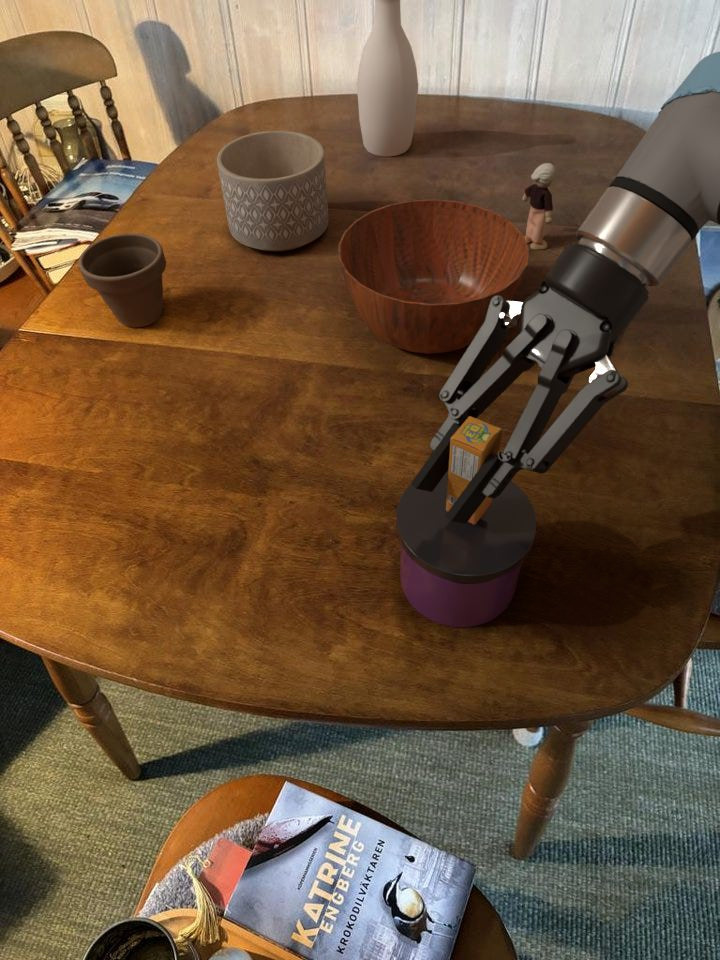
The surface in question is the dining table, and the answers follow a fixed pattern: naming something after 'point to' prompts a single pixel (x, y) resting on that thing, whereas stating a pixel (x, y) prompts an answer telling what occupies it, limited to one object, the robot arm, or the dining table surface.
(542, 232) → the grandmother figurine
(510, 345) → the robot arm
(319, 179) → the planter
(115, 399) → the dining table surface
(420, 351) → the bowl
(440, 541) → the jar
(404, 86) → the bottle
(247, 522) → the dining table surface
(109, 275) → the flower pot
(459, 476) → the supplement box
